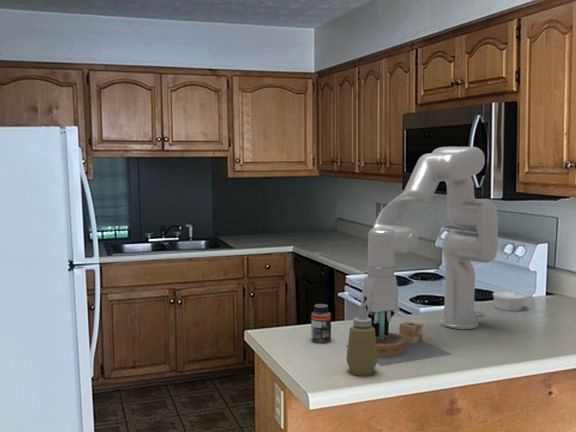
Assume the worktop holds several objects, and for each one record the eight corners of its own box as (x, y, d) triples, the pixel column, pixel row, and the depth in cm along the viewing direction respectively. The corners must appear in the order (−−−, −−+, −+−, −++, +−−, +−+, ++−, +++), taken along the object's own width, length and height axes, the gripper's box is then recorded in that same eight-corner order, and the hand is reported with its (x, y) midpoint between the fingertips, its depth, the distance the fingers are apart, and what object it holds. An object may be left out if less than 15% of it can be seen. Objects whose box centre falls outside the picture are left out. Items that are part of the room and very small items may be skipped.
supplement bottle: (320, 337, 192) (320, 301, 191) (335, 341, 188) (335, 305, 187) (307, 341, 188) (307, 305, 187) (321, 346, 184) (322, 308, 183)
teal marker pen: (380, 344, 181) (381, 297, 179) (386, 347, 178) (387, 299, 177) (373, 345, 180) (374, 298, 178) (378, 348, 177) (379, 300, 176)
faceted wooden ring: (385, 340, 188) (386, 329, 188) (413, 353, 176) (414, 341, 175) (345, 346, 182) (346, 334, 182) (371, 360, 170) (372, 348, 169)
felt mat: (411, 337, 193) (411, 336, 193) (452, 355, 176) (452, 353, 176) (345, 347, 183) (345, 345, 183) (381, 367, 166) (381, 365, 166)
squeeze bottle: (355, 380, 156) (356, 310, 154) (340, 370, 164) (341, 303, 162) (383, 375, 159) (384, 307, 158) (367, 366, 167) (368, 300, 165)
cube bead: (408, 336, 192) (408, 320, 192) (422, 340, 189) (422, 324, 188) (399, 340, 189) (399, 323, 188) (413, 343, 185) (413, 327, 185)
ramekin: (531, 311, 226) (531, 297, 226) (503, 313, 223) (504, 298, 223) (513, 304, 237) (513, 290, 236) (486, 305, 234) (487, 291, 234)
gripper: (396, 267, 184) (395, 328, 185) (349, 271, 177) (348, 334, 179) (412, 272, 177) (410, 335, 179) (363, 276, 170) (362, 342, 172)
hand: (379, 334), depth 179 cm, fingers closed on teal marker pen, 2 cm apart
